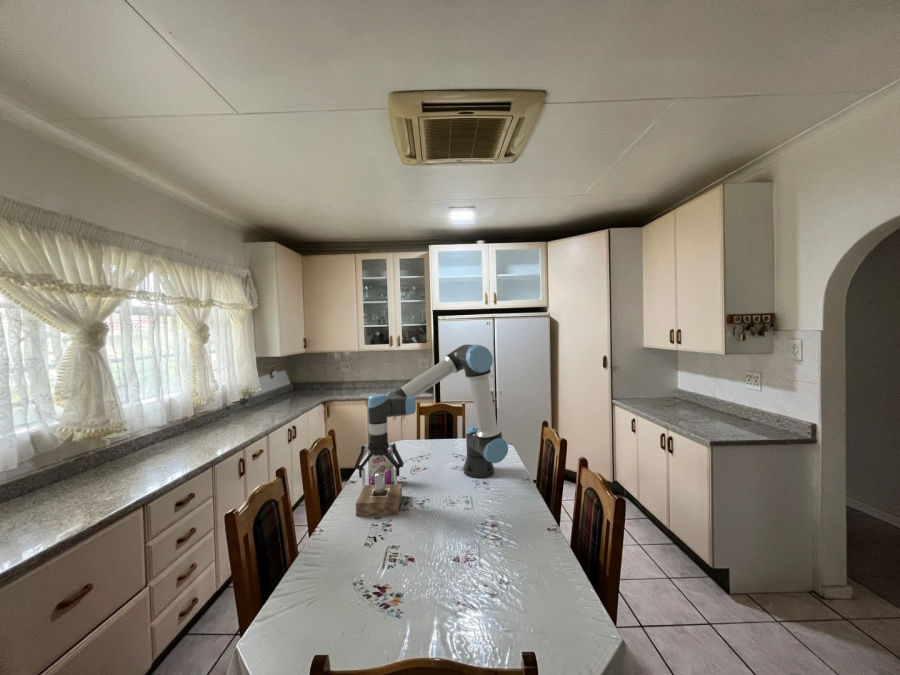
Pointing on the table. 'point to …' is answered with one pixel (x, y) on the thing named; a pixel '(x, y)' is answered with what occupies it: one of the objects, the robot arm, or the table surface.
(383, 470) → the candy bar box
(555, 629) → the table surface
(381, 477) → the pin
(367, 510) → the block
